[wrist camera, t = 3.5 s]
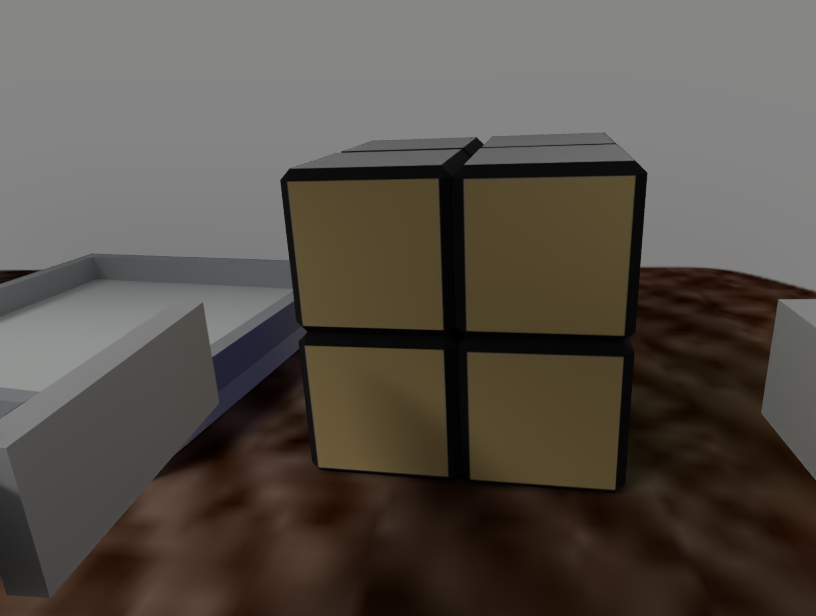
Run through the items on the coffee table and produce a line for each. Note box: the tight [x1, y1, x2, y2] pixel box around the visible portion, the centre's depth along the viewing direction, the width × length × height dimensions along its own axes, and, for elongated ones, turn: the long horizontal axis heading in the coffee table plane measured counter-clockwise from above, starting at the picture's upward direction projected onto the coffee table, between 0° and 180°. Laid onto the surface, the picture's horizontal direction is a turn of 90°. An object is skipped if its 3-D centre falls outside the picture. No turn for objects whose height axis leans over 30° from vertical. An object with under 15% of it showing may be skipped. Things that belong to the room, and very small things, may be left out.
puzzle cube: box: [280, 133, 647, 492], centre depth 23 cm, size 10×10×10 cm
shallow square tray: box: [0, 254, 307, 453], centre depth 31 cm, size 19×19×2 cm
